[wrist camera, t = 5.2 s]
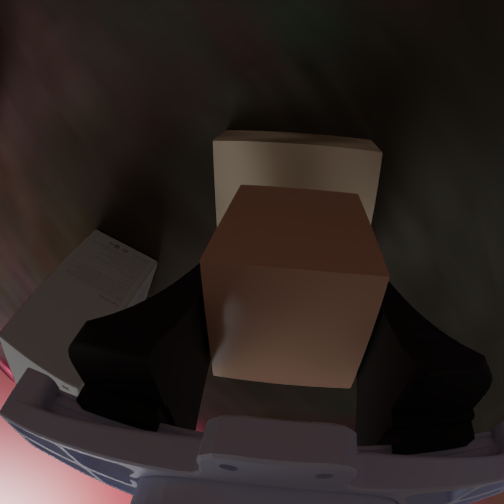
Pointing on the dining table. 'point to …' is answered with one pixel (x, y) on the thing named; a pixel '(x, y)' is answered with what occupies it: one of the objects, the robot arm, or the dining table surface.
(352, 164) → the maple base block
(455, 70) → the dining table surface
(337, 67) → the dining table surface
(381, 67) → the dining table surface
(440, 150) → the dining table surface
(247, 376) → the terracotta block
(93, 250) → the small box
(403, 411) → the robot arm
